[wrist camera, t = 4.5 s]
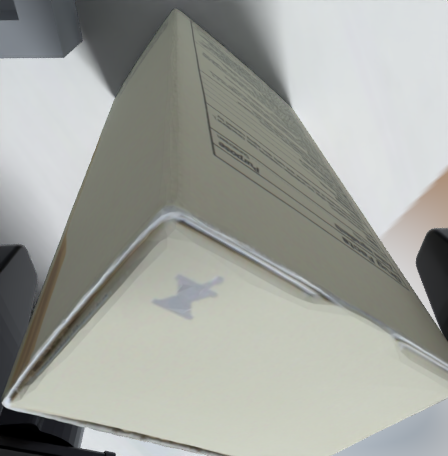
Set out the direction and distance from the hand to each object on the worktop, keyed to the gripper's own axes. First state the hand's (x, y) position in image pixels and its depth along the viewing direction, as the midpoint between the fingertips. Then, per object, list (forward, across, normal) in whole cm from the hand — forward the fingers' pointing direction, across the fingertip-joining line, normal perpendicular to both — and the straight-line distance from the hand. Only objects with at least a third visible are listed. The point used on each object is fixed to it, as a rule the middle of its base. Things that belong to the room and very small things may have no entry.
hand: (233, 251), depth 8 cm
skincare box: (+9, 0, 0) cm, 9 cm away
